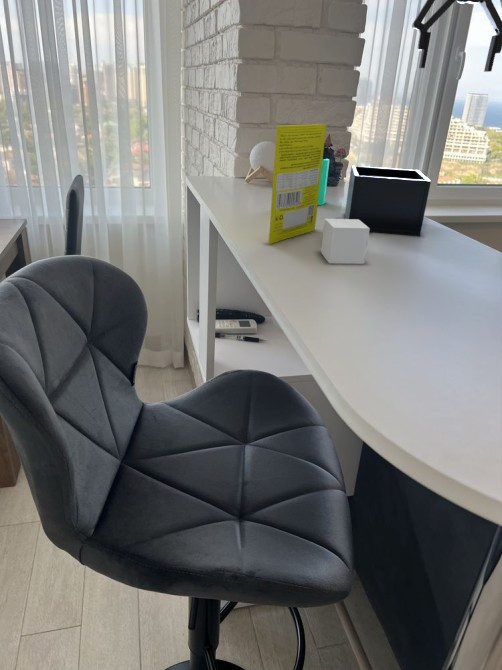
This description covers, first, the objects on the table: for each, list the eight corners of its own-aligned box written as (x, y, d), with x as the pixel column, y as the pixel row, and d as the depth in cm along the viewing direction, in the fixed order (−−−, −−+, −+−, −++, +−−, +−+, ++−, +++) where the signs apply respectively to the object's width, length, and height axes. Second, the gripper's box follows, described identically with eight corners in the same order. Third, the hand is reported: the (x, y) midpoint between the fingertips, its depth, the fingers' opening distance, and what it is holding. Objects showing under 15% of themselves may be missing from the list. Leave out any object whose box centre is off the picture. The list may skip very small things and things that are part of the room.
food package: (312, 229, 103) (323, 123, 94) (317, 230, 102) (329, 124, 93) (266, 243, 92) (274, 125, 83) (271, 245, 91) (279, 125, 82)
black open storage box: (409, 219, 115) (418, 170, 110) (420, 236, 102) (431, 181, 97) (344, 214, 117) (351, 165, 112) (347, 230, 104) (354, 175, 99)
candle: (328, 204, 125) (334, 153, 120) (307, 205, 123) (312, 153, 118) (317, 199, 130) (322, 150, 125) (296, 200, 128) (301, 150, 123)
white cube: (320, 252, 89) (324, 218, 86) (353, 253, 89) (358, 219, 87) (329, 263, 83) (333, 227, 81) (364, 263, 84) (369, 228, 81)
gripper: (416, -61, 96) (397, 66, 105) (554, -57, 93) (521, 72, 103) (410, -51, 102) (392, 67, 112) (539, -48, 100) (509, 73, 109)
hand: (454, 70), depth 107 cm, fingers open, 13 cm apart
